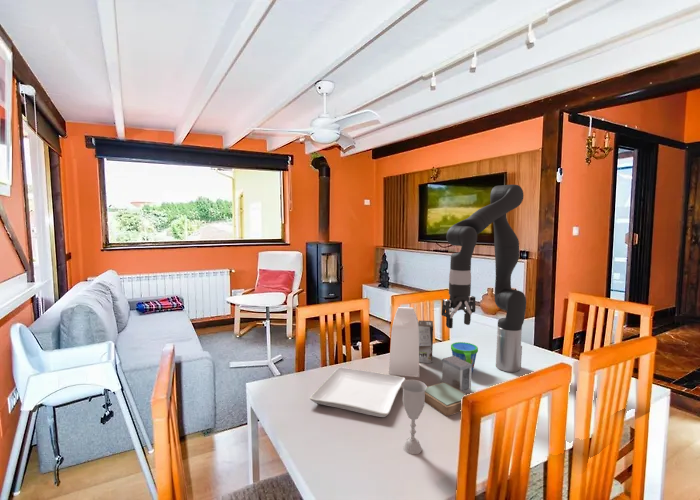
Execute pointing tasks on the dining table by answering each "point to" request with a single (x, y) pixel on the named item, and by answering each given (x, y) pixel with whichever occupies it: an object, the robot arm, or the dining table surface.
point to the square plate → (359, 391)
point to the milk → (404, 343)
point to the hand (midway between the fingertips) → (458, 326)
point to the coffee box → (425, 341)
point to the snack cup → (465, 352)
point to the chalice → (413, 410)
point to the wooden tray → (444, 398)
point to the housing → (457, 373)
